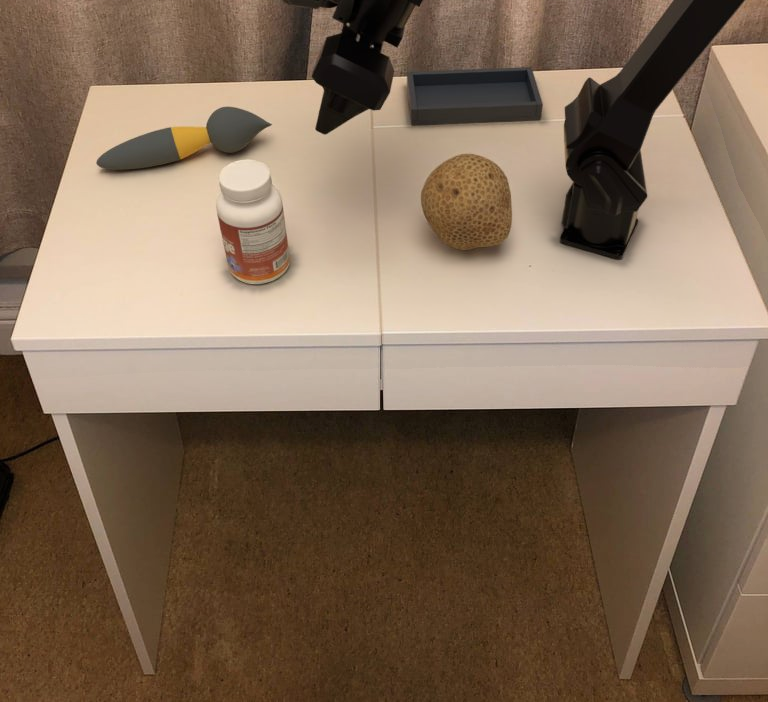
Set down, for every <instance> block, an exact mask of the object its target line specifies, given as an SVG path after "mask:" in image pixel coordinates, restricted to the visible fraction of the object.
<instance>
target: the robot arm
mask: <svg viewBox="0 0 768 702" xmlns="http://www.w3.org/2000/svg"><path fill="white" fill-rule="evenodd" d="M281 1H282V2H283V3H284V4H286V5H289V6H294V7H298V8H299V7H300V8H306V9H312V10H318V9H320V8H322V9H323V8H324V9H334V8H335V9H334V11H333V14H332V17H331V19H333V20H335V21H337V22H339V23H341V24H342V28H341V32H340V33H336V34H333V35H329V36H326V37H325V39H324V41H323V44H322V45H321V48H320V50H319V53H318V55H317V57H316V61H315V64H314V67H313V70H312V73H311V76H310V77H311V78H312V79H313V81H314V82H315V83H316V84H317V85H319V86H320V87H322V89H323V91H322V92H323V93H322V97H321V102H320V107H319V111H318V114H317V119H316V123H315V127H314V128H315V129H314V130H315V131H316V132H318V133H319V134H322V135H324V136H325V135H328V134H330V133H331V132H333V131H334V130H336V129H337V128H340V126H343V125H344V124H346V123H347V122H349V121H350V120H352V119H354V118H355V117H358V116H359V115H361V114H363V113H365V112H366V111H368V110H371V111H380V110H381V109H382V107H384V104H385V102H386V101H387V99H388V97H389V95H390V93H391V89H392V84H393V79H394V75H395V69H394V66H393V63H392V60H391V58H390V56H388V55H386V54H384V53H382V51H383V47H384V42H385V43H386V44H388V45H391V46H393V47H394V48H398V47H399V46H400V44H401V42H402V40H403V39H404V32H405V28H406V27H405V26H406V25H407V22H408V21H409V19H410V17H411V15H412V14H413V11H414V9H415V8H416V6H417V7H421V6H422V5H421V4H422V3H423V1H424V0H281ZM745 1H746V0H672V2H671V3H670V4H669V5H668V7H666V9H665V11H664V12H663V13H662V15H661V16H660V18H659V19H658V20H657V22H655V24H654V25H653V27H652V28H651V30H650V31H649V32H648V34H647V35H646V37H645V38H644V39H643V40H642V42H641V43H640V44H639V46H638V47H637V48H636V50H635V51H634V52H633V54H632V55H631V56H630V58H629V59H628V60H627V62H626V63H625V65H623V67H622V69H621V70H620V71H619V72H617V74H616V75H615V76H613V77H611V78H610V79H608V80H606V81H604V82H603V83H598V82H597V81H596V80H594V79H593V78H592V77H587V78H586V80H585V81H584V83H583V85H582V87H581V89H580V91H579V93H578V94H577V96H576V97H575V98H574V99H573V100H572V101H571V102H570V103H568V104H566V106H564V122H563V145H564V166H565V171H566V174H567V176H568V177H569V179H570V180H571V182H572V183H571V185H570V187H569V188H568V190H567V192H566V194H565V200H564V205H563V210H562V215H561V216H562V217H561V223H560V224H561V226H562V227H564V229H563V230H562V232H561V234H560V237H559V242H560V243H562V244H564V245H568V246H571V247H575V248H578V249H580V250H581V249H582V250H585V251H589V252H593V253H595V254H599V255H602V256H606V257H609V258H613V259H617V260H620V259H622V258H624V255H625V253H626V251H627V249H628V246H629V245H630V243H631V241H632V238H633V236H634V233H635V231H636V229H637V228H638V224H639V219H638V218H637V217H638V213H639V210H640V208H641V206H642V205H643V204H644V202H646V200H647V198H648V191H647V184H646V177H645V170H644V163H643V157H642V147H643V144H644V141H645V139H646V136H647V134H648V131H649V128H650V125H651V122H652V120H653V117H654V115H655V113H656V112H657V110H658V108H659V107H660V106H661V105H662V104H663V102H664V101H665V100H666V99H667V97H668V96H669V95H670V94H671V93H672V91H673V90H674V89H675V88H676V86H677V85H678V84H679V82H680V81H682V79H683V78H684V77H685V76H686V74H687V73H688V72H689V71H690V69H691V68H692V67H693V66H694V64H696V62H697V60H698V59H699V58H700V57H701V55H702V54H704V52H705V51H706V50H707V48H708V47H710V44H711V43H712V42H713V41H714V40H715V38H716V37H717V36H718V35H719V34H720V32H721V31H722V30H723V29H724V28H725V26H726V25H727V24H728V22H729V21H730V20H731V19H732V18H733V16H734V15H735V14H736V13H737V11H738V10H739V9H740V8H741V6H742V5H743V4H745Z"/></svg>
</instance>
